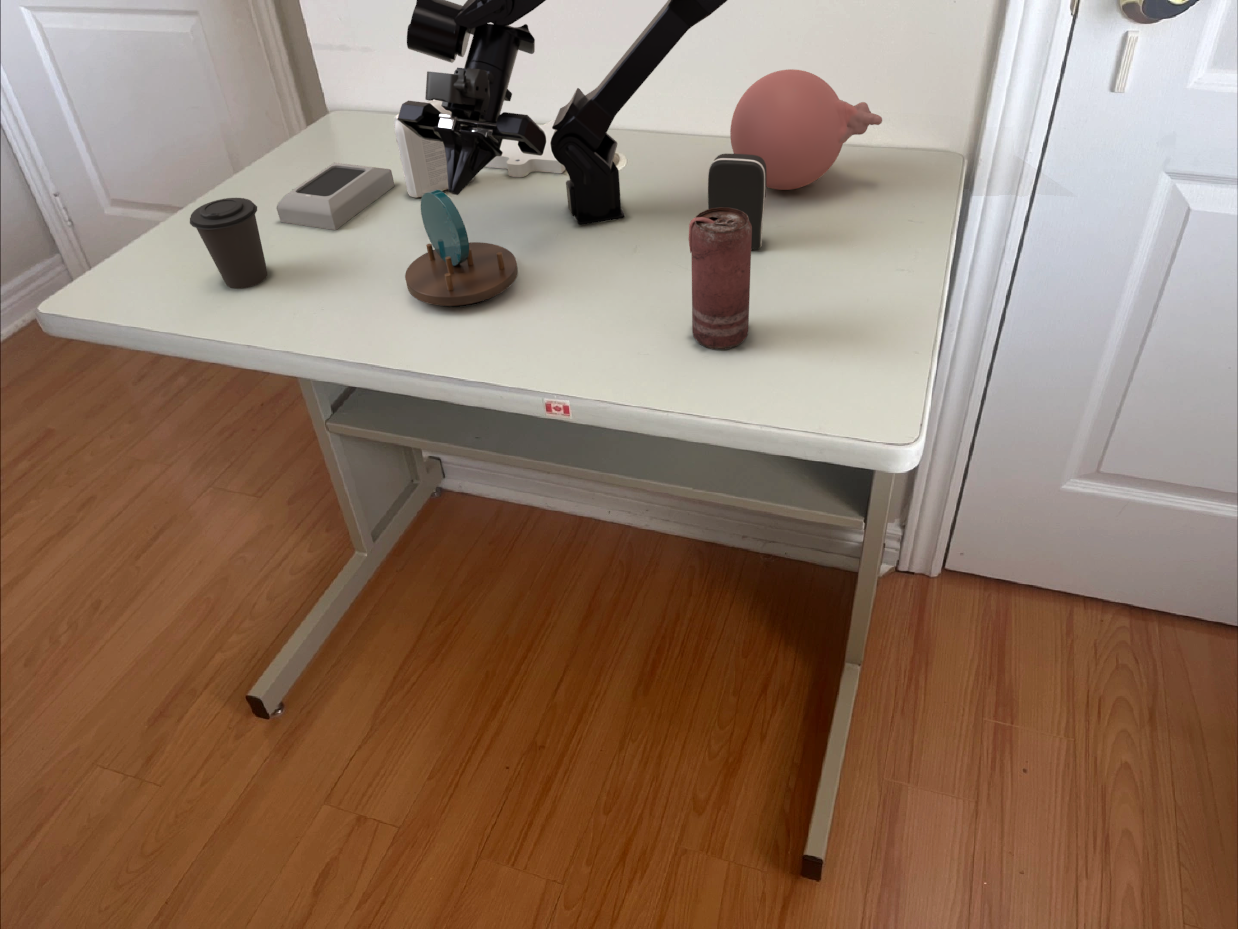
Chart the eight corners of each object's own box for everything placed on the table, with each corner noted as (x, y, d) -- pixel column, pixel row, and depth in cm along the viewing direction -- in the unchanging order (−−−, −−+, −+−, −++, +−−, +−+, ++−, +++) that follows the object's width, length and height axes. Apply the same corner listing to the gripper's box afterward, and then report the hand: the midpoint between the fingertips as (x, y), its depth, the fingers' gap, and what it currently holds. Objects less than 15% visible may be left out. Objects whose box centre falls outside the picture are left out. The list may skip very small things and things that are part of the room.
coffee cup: (219, 300, 115) (190, 226, 109) (209, 273, 121) (181, 201, 115) (284, 282, 118) (260, 208, 111) (271, 257, 124) (247, 185, 117)
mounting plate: (555, 180, 137) (553, 167, 136) (476, 173, 141) (474, 161, 139) (597, 134, 149) (596, 122, 148) (524, 129, 153) (522, 117, 152)
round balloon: (868, 214, 122) (883, 96, 112) (719, 204, 127) (720, 90, 117) (877, 167, 133) (891, 55, 123) (740, 159, 138) (742, 52, 128)
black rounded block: (766, 238, 119) (770, 151, 112) (761, 252, 116) (764, 163, 109) (712, 234, 121) (713, 148, 113) (706, 247, 118) (706, 160, 111)
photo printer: (465, 173, 141) (451, 90, 133) (478, 181, 138) (464, 97, 130) (403, 192, 137) (384, 108, 129) (415, 201, 134) (396, 116, 126)
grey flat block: (389, 161, 137) (328, 205, 126) (394, 185, 139) (335, 229, 129) (336, 155, 140) (272, 197, 129) (342, 178, 142) (280, 221, 132)
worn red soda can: (686, 324, 104) (684, 208, 95) (742, 318, 105) (745, 202, 96) (694, 354, 100) (693, 234, 91) (752, 348, 100) (757, 228, 91)
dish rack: (539, 276, 112) (528, 197, 106) (442, 318, 106) (425, 237, 100) (480, 240, 121) (466, 164, 114) (387, 276, 115) (367, 199, 108)
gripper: (388, 32, 111) (353, 157, 111) (521, 43, 104) (483, 177, 104) (439, 78, 121) (406, 192, 121) (562, 91, 114) (528, 213, 114)
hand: (453, 193), depth 115 cm, fingers closed
